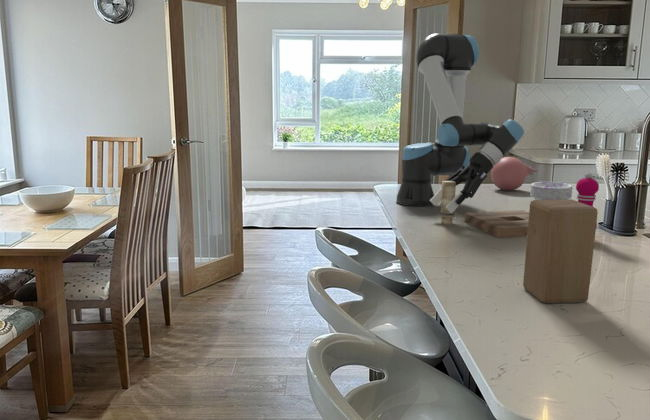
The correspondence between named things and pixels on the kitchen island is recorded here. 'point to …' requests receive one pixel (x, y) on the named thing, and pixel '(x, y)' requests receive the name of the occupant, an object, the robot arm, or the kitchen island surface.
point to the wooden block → (559, 250)
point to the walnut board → (500, 222)
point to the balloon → (510, 173)
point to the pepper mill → (587, 190)
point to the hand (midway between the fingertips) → (440, 206)
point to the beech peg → (447, 201)
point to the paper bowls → (551, 190)
